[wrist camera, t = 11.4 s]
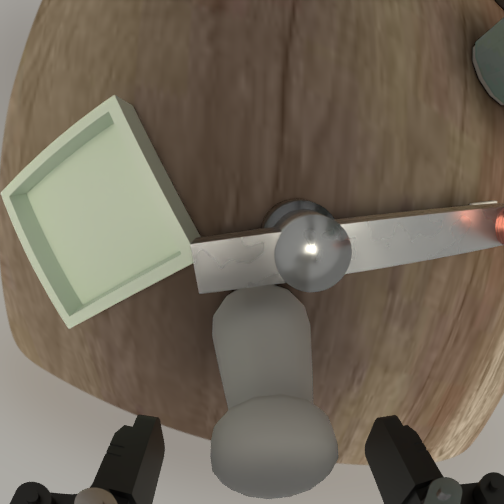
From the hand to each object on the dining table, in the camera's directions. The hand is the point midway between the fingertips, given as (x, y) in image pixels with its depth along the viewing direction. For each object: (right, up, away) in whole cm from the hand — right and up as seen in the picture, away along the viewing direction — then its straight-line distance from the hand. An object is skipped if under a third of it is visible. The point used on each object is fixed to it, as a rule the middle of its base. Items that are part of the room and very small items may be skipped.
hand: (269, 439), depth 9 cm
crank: (+6, +8, +7) cm, 12 cm away
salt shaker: (0, +3, +11) cm, 11 cm away
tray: (-10, +9, +9) cm, 16 cm away
